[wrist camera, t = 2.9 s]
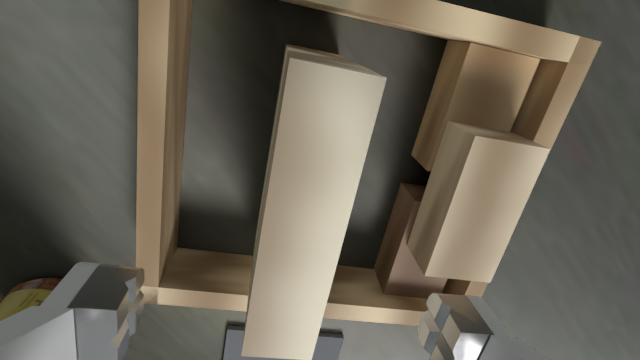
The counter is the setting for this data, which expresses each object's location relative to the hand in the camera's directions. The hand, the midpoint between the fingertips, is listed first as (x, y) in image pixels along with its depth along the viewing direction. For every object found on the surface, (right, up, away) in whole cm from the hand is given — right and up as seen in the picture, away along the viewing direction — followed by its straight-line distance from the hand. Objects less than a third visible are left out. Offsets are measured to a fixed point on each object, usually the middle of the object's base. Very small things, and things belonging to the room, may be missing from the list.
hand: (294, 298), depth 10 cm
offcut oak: (+9, +8, +12) cm, 17 cm away
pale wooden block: (-1, +5, +12) cm, 13 cm away
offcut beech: (+9, +3, +11) cm, 14 cm away
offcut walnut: (+7, 0, +15) cm, 17 cm away
